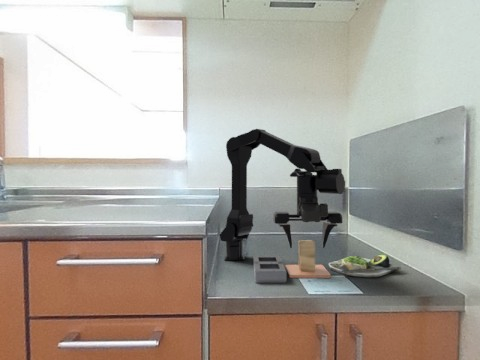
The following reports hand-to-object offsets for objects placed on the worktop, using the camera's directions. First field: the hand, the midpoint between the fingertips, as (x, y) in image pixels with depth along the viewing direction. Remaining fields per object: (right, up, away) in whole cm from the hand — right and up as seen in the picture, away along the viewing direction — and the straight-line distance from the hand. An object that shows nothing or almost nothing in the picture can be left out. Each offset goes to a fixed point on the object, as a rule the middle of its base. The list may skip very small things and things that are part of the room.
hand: (307, 247), depth 106 cm
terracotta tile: (0, -7, 0) cm, 7 cm away
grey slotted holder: (-11, -7, -1) cm, 13 cm away
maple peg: (0, -6, 0) cm, 6 cm away
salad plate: (+17, -8, +3) cm, 19 cm away
